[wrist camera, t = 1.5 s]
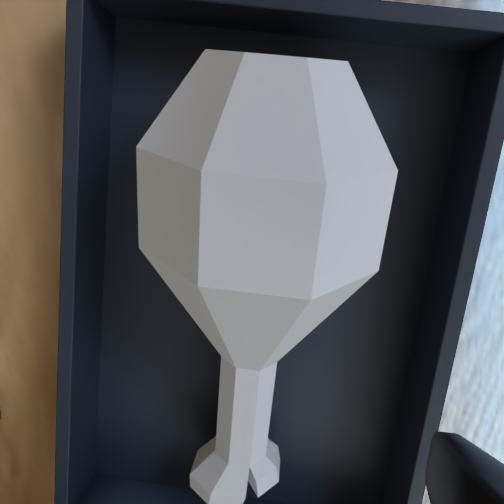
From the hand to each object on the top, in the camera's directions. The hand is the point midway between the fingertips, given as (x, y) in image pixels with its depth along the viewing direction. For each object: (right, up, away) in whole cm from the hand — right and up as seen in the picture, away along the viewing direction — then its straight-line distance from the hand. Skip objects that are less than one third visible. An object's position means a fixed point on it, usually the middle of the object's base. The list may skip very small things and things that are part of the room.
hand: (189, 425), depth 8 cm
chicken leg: (+1, +2, +12) cm, 12 cm away
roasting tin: (+2, +2, +12) cm, 12 cm away
